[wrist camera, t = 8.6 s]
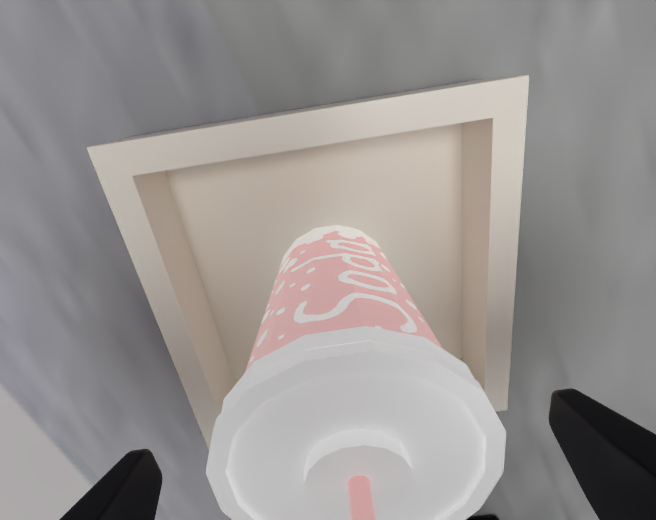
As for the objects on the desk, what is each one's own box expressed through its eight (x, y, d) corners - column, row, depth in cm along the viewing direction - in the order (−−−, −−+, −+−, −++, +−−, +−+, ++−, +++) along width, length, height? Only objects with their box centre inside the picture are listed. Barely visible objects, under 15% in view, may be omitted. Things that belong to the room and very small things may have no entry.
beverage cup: (433, 243, 15) (1034, 985, 3) (364, 353, 18) (505, 1054, 5) (296, 180, 14) (140, 1038, 1) (240, 307, 16) (-26, 1100, 3)
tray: (474, 357, 19) (507, 410, 16) (226, 393, 19) (209, 452, 16) (478, 79, 14) (529, 75, 11) (137, 135, 14) (86, 147, 11)
